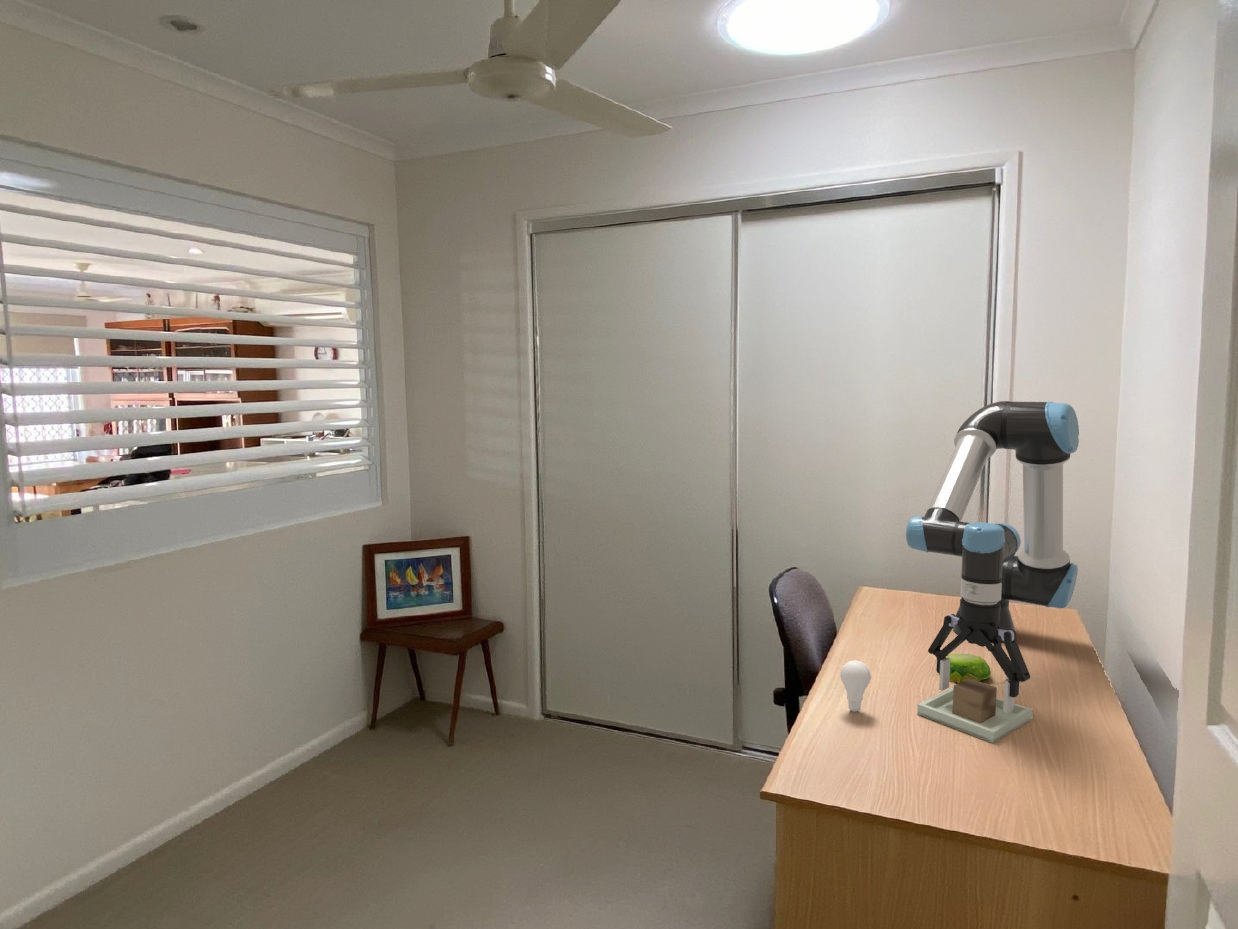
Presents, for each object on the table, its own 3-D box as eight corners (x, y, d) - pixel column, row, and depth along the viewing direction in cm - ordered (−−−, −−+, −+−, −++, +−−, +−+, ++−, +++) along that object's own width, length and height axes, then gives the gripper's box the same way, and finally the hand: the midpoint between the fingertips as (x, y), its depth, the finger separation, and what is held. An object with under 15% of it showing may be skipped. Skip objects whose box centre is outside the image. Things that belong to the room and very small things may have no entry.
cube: (967, 705, 165) (968, 678, 164) (995, 715, 160) (996, 687, 160) (952, 713, 161) (953, 685, 161) (980, 723, 157) (982, 695, 156)
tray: (957, 693, 172) (958, 684, 172) (1032, 719, 160) (1032, 709, 159) (917, 714, 162) (917, 704, 162) (993, 743, 150) (993, 732, 150)
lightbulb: (869, 707, 166) (871, 657, 165) (869, 719, 160) (870, 668, 159) (840, 703, 168) (841, 654, 167) (838, 715, 162) (839, 665, 161)
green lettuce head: (995, 688, 176) (996, 666, 175) (944, 684, 178) (945, 664, 177) (981, 668, 187) (982, 648, 186) (933, 665, 189) (934, 646, 188)
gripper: (913, 589, 165) (910, 684, 168) (1035, 619, 146) (1028, 726, 149) (933, 583, 170) (929, 676, 173) (1053, 611, 150) (1046, 715, 153)
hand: (975, 699), depth 161 cm, fingers open, 13 cm apart
